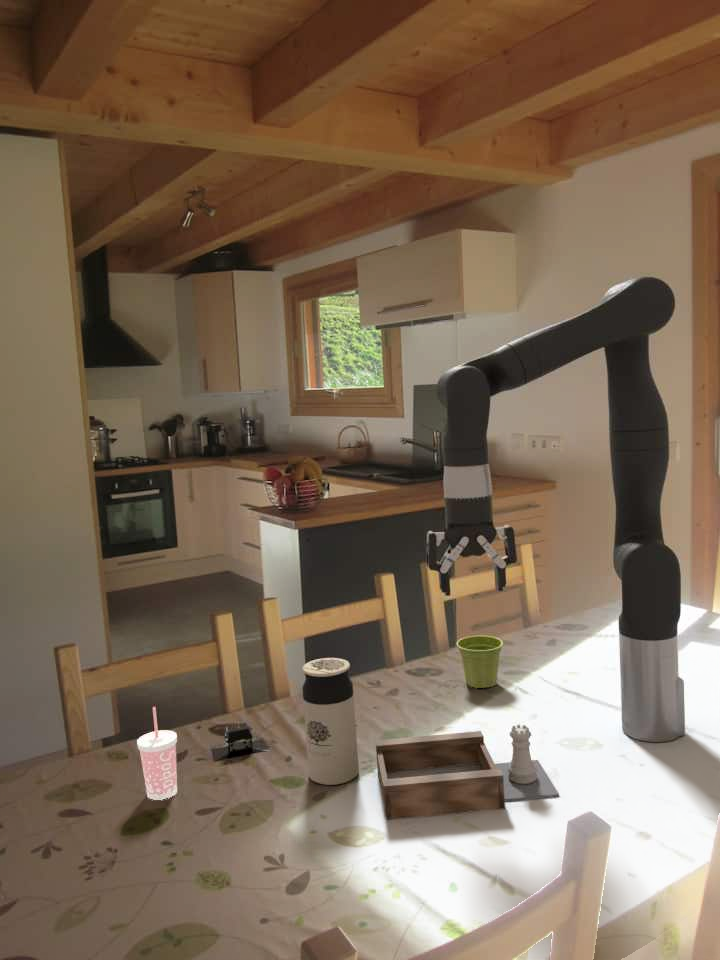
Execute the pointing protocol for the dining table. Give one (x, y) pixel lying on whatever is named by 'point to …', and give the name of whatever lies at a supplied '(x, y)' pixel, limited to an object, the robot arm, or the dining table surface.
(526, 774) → the rook chess piece
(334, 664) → the travel mug
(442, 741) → the brown wooden box
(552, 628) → the dining table surface
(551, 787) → the charcoal mat
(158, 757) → the beverage cup
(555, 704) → the dining table surface
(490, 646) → the plant pot
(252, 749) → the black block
